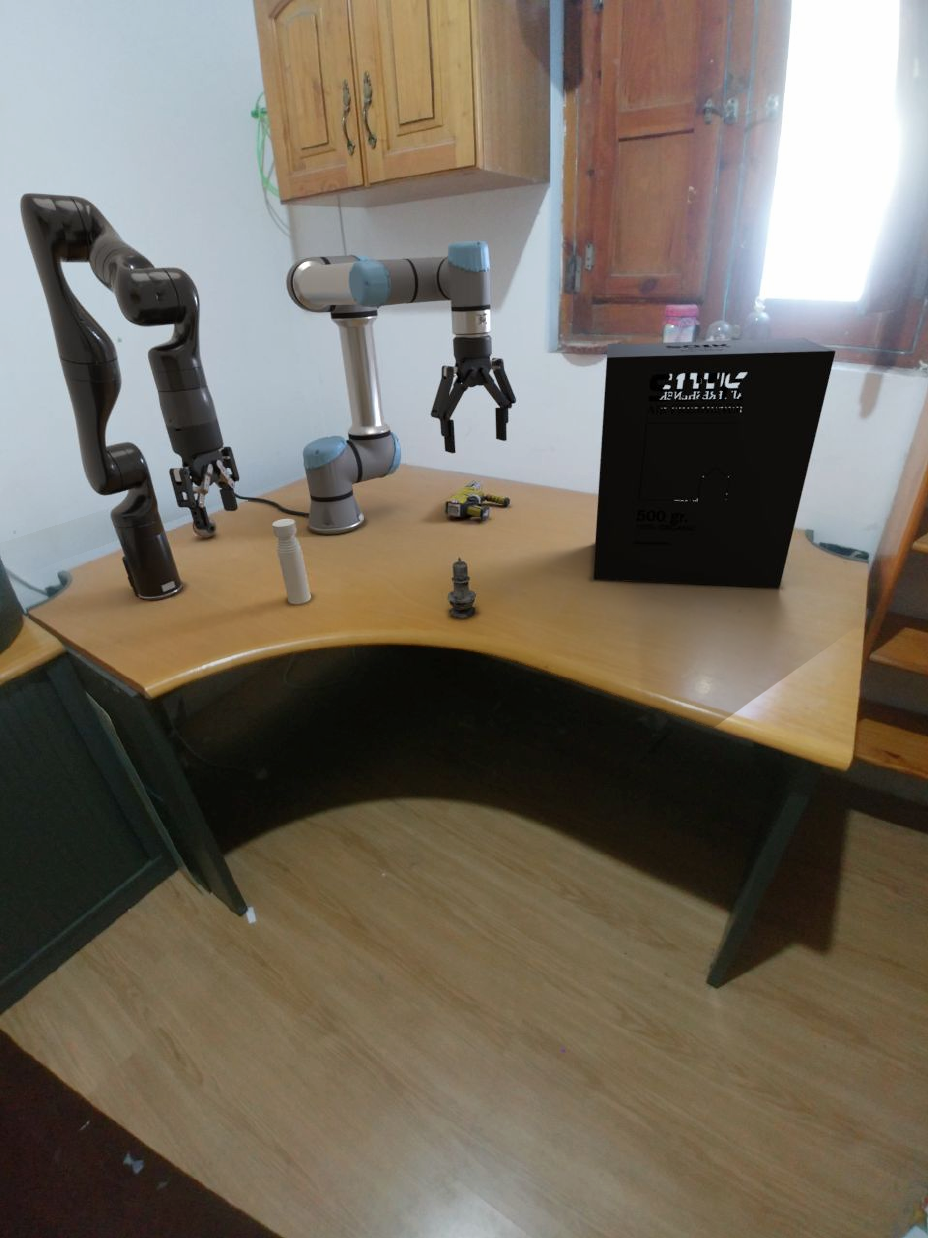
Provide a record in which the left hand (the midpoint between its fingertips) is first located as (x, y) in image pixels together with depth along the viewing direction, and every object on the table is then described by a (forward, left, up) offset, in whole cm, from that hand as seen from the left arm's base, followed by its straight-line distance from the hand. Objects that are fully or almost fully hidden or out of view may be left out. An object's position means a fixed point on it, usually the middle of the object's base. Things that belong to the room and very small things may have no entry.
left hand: (218, 519), depth 100 cm
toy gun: (+29, +81, -26) cm, 90 cm away
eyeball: (-43, +53, -26) cm, 73 cm away
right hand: (+36, +42, +2) cm, 55 cm away
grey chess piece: (+36, +20, -26) cm, 49 cm away
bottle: (-1, +21, -26) cm, 34 cm away
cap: (-1, +21, -9) cm, 23 cm away
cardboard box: (+81, +47, -26) cm, 97 cm away
